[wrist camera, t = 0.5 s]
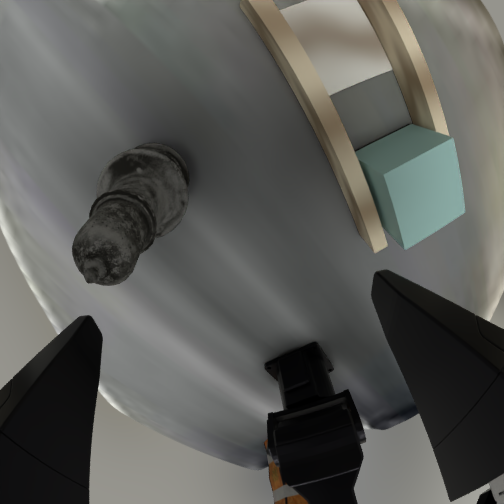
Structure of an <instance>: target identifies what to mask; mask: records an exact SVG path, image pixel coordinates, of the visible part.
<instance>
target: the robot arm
mask: <svg viewBox="0 0 504 504" xmlns="http://www.w3.org/2000/svg"><path fill="white" fill-rule="evenodd" d="M371 297H372V301H373V304H374V306H375V309H376V312H377V314H378V317H379V320H380V323H381V325H382V328H383V331H384V334H385V336H386V339H387V341H388V344H389V346H390V348H391V350H392V352H393V354H394V356H395V359H396V361H397V363H398V365H399V367H400V369H401V372H402V374H403V376H404V378H405V381H406V383H407V385H408V387H409V390H410V392H411V394H412V397H413V399H414V402H415V404H416V406H417V409H418V411H419V414H420V416H421V419H422V421H423V424H424V426H425V429H426V432H427V434H428V437H429V439H430V442H431V445H432V448H433V451H434V454H435V457H436V459H437V462H438V465H439V468H440V471H441V474H442V477H443V480H444V484H445V486H446V490H447V493H448V497H449V500H450V502H452V501H454V500H456V499H458V498H460V497H462V496H464V495H466V494H468V493H470V492H472V491H474V490H476V489H478V488H480V487H482V486H484V485H485V484H487V483H489V485H490V489H488V490H486V491H485V492H484V493H482V494H481V495H480V496H479V499H478V501H477V504H504V329H502V328H500V327H498V326H496V325H494V324H492V323H490V322H489V321H487V320H485V319H483V318H481V317H479V316H477V315H476V316H475V314H474V313H472V312H470V311H468V310H466V309H464V308H462V307H460V306H459V305H457V304H455V303H453V302H451V301H449V300H447V299H445V298H443V297H441V296H439V295H437V294H435V293H434V292H432V291H430V290H428V289H426V288H424V287H422V286H420V285H418V284H416V283H414V282H412V281H410V280H408V279H406V278H404V277H402V276H400V275H397V274H395V273H393V272H391V271H389V270H381V271H377V272H375V274H374V277H373V284H372V291H371ZM102 343H103V337H102V333H101V331H100V330H99V328H98V326H97V325H96V323H95V321H94V319H93V318H92V317H91V316H89V315H86V316H80V317H78V318H77V319H76V320H75V321H73V322H72V323H71V324H70V325H69V326H68V327H67V328H65V329H64V330H63V331H62V332H61V333H60V334H59V335H58V336H57V337H55V338H54V339H53V340H52V341H51V342H50V343H49V344H48V345H47V346H46V347H44V349H42V350H41V351H40V352H39V353H38V354H37V355H36V356H35V357H34V358H33V359H32V360H31V361H29V363H27V364H26V366H24V367H23V368H22V369H21V370H20V371H19V372H18V373H17V374H16V375H15V376H14V377H13V379H11V380H10V381H9V382H8V383H7V384H6V385H5V386H4V387H3V388H2V389H1V390H0V504H89V476H90V456H91V443H92V432H93V423H94V414H95V406H96V398H97V392H98V386H99V378H100V365H101V353H102ZM265 370H266V371H267V372H268V373H269V374H270V375H271V376H273V377H274V378H275V379H276V380H277V381H278V383H279V388H280V393H281V399H282V404H283V409H284V410H283V411H279V412H275V413H273V412H272V413H268V420H267V435H268V442H267V449H266V452H267V455H268V456H270V457H272V459H273V461H274V463H275V465H276V466H277V467H280V469H281V473H282V479H283V480H284V482H285V483H286V484H287V485H288V486H289V487H292V488H293V489H294V490H295V491H296V492H297V493H298V494H299V495H301V496H302V497H303V498H304V499H305V500H306V501H307V503H308V504H357V500H356V496H355V493H354V486H355V483H356V480H357V477H358V474H359V471H360V467H361V464H362V461H363V452H362V449H361V445H360V444H362V443H365V442H366V437H365V433H364V429H363V426H362V422H361V419H360V417H359V414H358V412H357V409H356V407H355V404H354V402H353V399H352V397H351V394H350V392H349V390H348V389H347V390H344V392H341V393H338V394H335V391H334V388H333V385H332V382H331V379H330V376H329V373H330V372H332V371H333V370H334V368H333V365H332V364H331V362H330V361H329V359H328V358H327V356H326V355H325V353H324V352H323V350H322V349H321V348H320V346H319V345H318V343H312V344H309V345H307V346H305V347H303V348H301V349H299V350H296V351H294V352H292V353H290V354H287V355H285V356H283V357H280V358H278V359H276V360H273V361H271V362H269V363H266V364H265Z"/></svg>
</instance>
